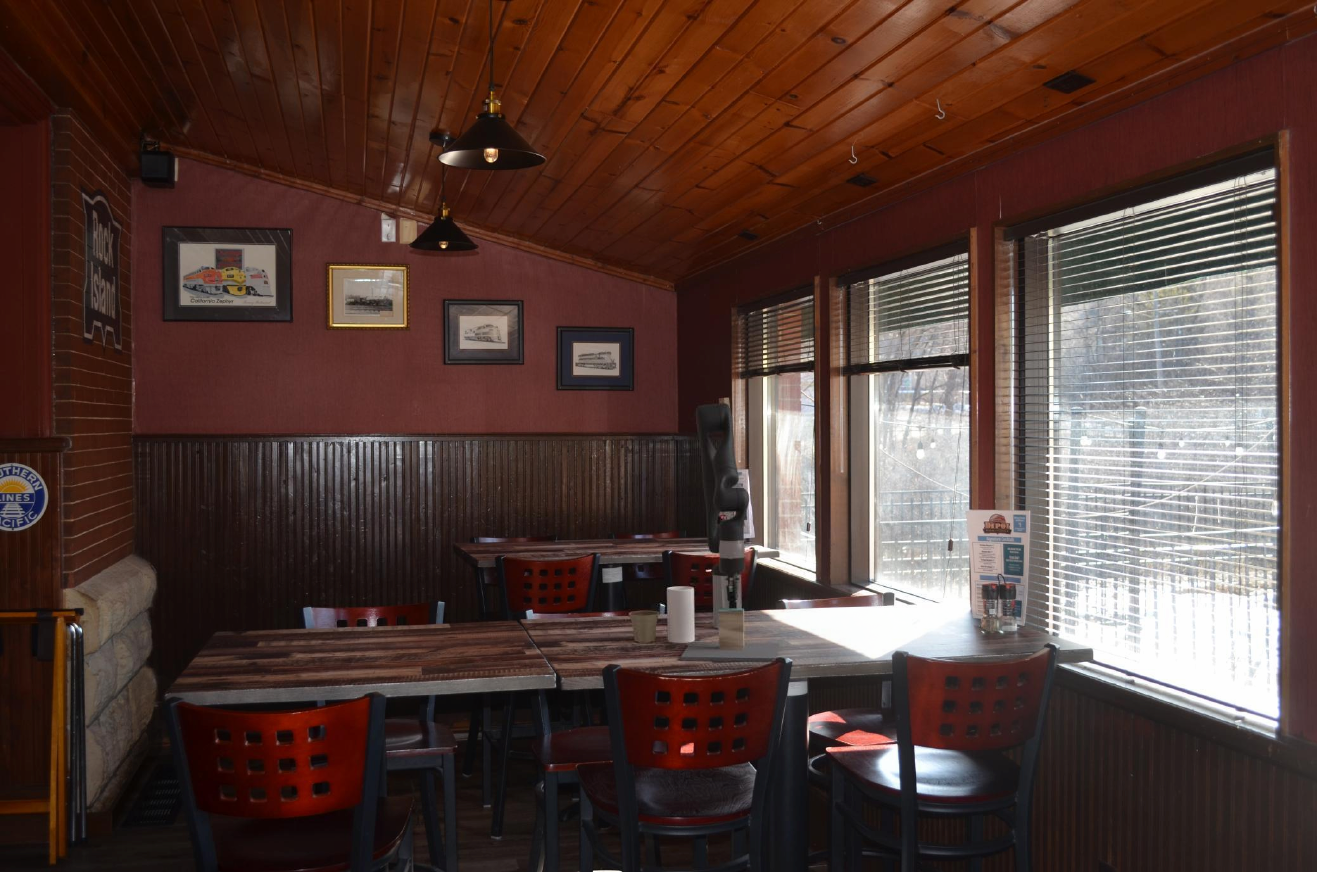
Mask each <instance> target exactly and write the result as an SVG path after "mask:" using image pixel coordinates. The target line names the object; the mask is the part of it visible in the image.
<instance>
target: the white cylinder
mask: <svg viewBox="0 0 1317 872" xmlns="http://www.w3.org/2000/svg"><path fill="white" fill-rule="evenodd" d="M666 605H667V606H666V607H667V608H666V609H667V610H666V612H667V620H666V621H667V641H668V642H669V643H674V644H687V643H691V642H696V641H695V636H696V635H695V589H694V587H692V586H683V585H682V586H671V587H667V588H666Z"/></svg>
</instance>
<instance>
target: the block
mask: <svg viewBox="0 0 1317 872" xmlns="http://www.w3.org/2000/svg"><path fill="white" fill-rule="evenodd" d="M718 641H719V642H718V643H719V649H744V647H745V643H746V642H745V641H746V640H745V609H744V608H742V609H719V629H718Z"/></svg>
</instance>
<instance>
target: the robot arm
mask: <svg viewBox="0 0 1317 872" xmlns="http://www.w3.org/2000/svg"><path fill="white" fill-rule="evenodd" d="M695 420H696V421H695V423H696V428H697V436H698V441H699V449H700V456H701V470H702V486H703V487H702V488H703V493H704V501H705V510H706V511H705V512H706V536H707V537H706V539H707V547H708V550H709V552H710V553H712V554H718V557H719V560H718V561H719V563H717V564H714V565H713V566H712V597H713V598H712V602H713V603H712V607H713V608H712V609H713V612H712V613H713V616H712V617H713V628H714V629H718V630H719V609H743V608H742V573H744V572H745V571H746V552H745V551H746V547H745V538H744V536H745V535H744V534H745V533H744V531H745V530H744V529H745V528H744V526H745V520H746V514H747V511H748V507H749V503H750V494H749V492H748V490H747V489H746V488H744V487H735V486H737V484H739V473H738V465H737V462H736V454H735V453H736V452H735V434H734V423H733V416H732V411H731V408H730V405H729V404H728V403H727V402H726V403H725V402H720V403H719V402H718V403H712V404H711V403H710V404H703V405H699V406H697V408H696V410H695ZM722 433H723V437H722V439H721V443H720V444H719V446H718V448H717V450H716V448H715V446H714V445H713V443H712V442H711V440H710V438H709V435H713V434H722ZM731 512H735V515H734V516H733V517H731V518H729V519H724V520H722V521H720V523H719V524H718V518H719V515H720V513H731Z"/></svg>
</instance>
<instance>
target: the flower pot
mask: <svg viewBox="0 0 1317 872" xmlns="http://www.w3.org/2000/svg"><path fill="white" fill-rule="evenodd" d="M659 615H660V612H659V611H655V610H637V611H635V610H634V611H631V612H629V613H628V616H629V617H630V620H631V625H632V631H633V639H634V642H635V641H636V642H635V643H640V644H649V643H652V642H656V632H657V625H658V623H657V622H658V619H659Z"/></svg>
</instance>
